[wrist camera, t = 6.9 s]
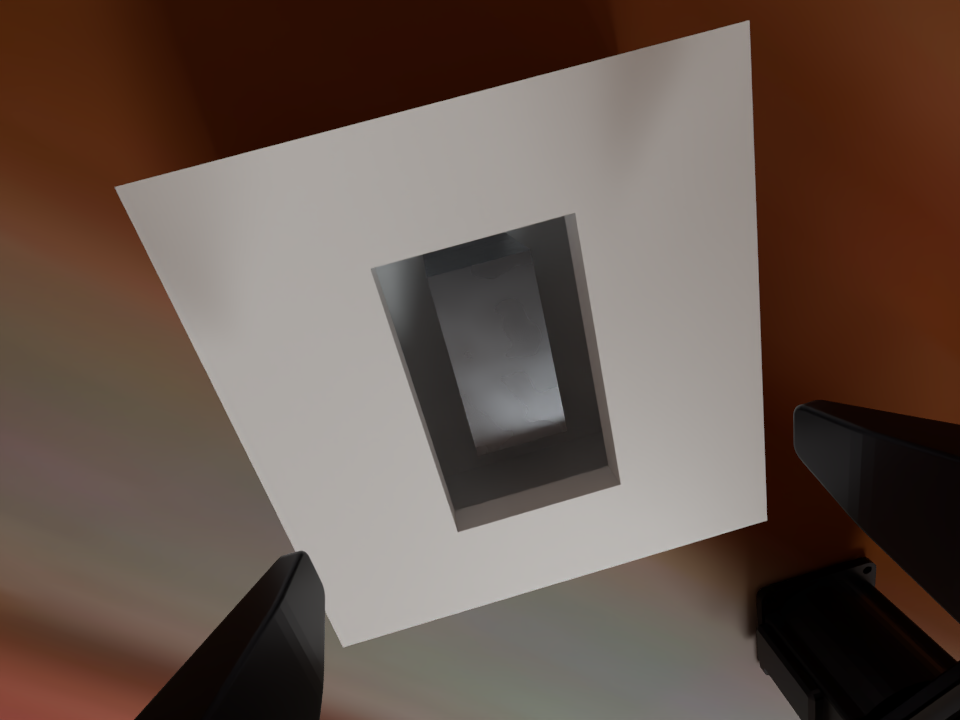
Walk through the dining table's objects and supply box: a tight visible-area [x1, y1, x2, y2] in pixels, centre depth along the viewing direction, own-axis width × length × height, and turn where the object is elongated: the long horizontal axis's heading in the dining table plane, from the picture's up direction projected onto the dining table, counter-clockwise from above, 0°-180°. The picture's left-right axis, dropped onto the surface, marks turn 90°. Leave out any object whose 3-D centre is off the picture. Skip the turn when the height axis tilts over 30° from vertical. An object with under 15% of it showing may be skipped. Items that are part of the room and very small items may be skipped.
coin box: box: [115, 20, 767, 647], centre depth 17 cm, size 14×14×7 cm
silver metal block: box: [423, 232, 567, 456], centre depth 17 cm, size 3×6×4 cm, turn 14°
